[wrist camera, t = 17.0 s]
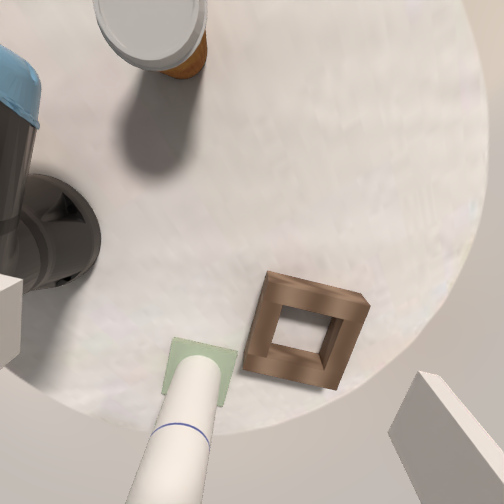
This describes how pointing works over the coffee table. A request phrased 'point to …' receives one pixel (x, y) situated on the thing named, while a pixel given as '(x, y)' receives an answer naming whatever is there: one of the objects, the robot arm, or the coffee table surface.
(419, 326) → the coffee table surface
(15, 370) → the coffee table surface
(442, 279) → the coffee table surface
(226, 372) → the green mat
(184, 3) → the disposable coffee cup
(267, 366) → the frame
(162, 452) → the cylindrical container
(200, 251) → the coffee table surface
